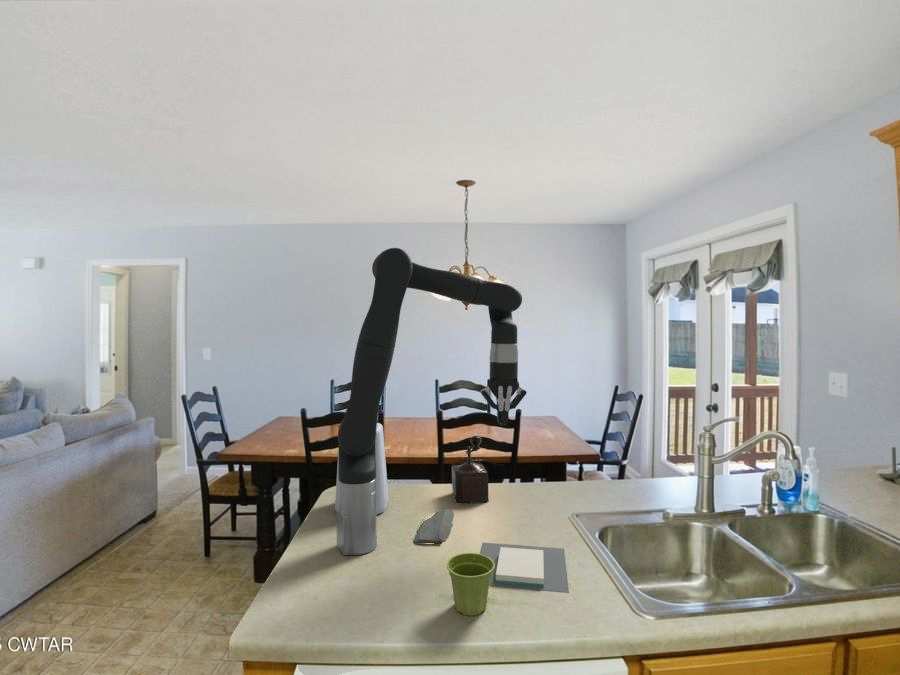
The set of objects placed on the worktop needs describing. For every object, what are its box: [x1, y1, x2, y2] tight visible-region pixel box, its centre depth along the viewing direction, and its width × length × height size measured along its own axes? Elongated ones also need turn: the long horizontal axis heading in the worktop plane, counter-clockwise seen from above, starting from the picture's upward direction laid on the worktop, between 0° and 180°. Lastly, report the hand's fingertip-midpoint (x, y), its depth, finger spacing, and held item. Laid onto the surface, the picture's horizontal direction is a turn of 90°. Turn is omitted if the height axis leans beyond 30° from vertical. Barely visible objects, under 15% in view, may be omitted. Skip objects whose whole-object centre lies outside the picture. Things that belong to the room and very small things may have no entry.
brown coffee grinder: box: [451, 435, 490, 504], centre depth 160 cm, size 16×11×18 cm
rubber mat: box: [479, 542, 570, 594], centre depth 111 cm, size 20×20×1 cm
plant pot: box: [446, 552, 495, 617], centre depth 96 cm, size 9×9×9 cm
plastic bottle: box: [334, 422, 389, 516], centre depth 149 cm, size 15×15×28 cm
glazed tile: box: [496, 547, 544, 587], centre depth 109 cm, size 2×10×13 cm
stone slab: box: [413, 508, 455, 545], centre depth 135 cm, size 22×3×10 cm
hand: (502, 424), depth 132 cm, fingers closed
